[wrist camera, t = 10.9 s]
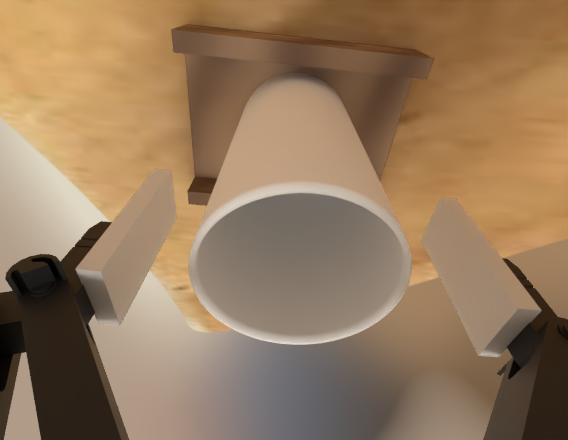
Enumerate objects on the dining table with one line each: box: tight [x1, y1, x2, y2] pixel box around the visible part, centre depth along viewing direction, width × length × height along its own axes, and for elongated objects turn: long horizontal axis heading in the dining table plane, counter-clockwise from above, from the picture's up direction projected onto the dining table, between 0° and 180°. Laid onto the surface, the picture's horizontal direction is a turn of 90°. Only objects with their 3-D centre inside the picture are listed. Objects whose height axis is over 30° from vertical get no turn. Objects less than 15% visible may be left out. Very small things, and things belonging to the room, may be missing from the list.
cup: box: [189, 73, 412, 345], centre depth 18 cm, size 8×8×16 cm
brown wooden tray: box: [171, 25, 434, 205], centre depth 24 cm, size 16×12×4 cm
